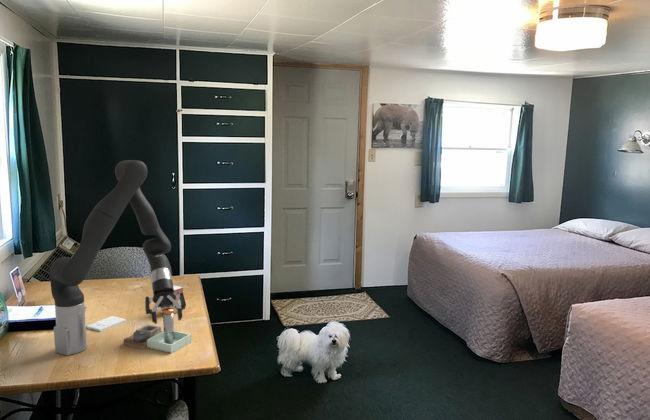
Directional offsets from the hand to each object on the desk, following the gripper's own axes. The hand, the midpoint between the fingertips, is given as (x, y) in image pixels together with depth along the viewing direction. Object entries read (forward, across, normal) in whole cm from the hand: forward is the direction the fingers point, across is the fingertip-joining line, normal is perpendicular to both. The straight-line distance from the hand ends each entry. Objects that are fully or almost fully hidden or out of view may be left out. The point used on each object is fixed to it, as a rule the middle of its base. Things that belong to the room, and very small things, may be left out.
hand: (167, 321), depth 186 cm
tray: (+7, 0, +5) cm, 9 cm away
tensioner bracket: (+2, -8, +10) cm, 13 cm away
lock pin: (+7, 0, +5) cm, 8 cm away
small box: (-18, +7, +30) cm, 35 cm away
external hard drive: (-14, -20, +27) cm, 36 cm away
